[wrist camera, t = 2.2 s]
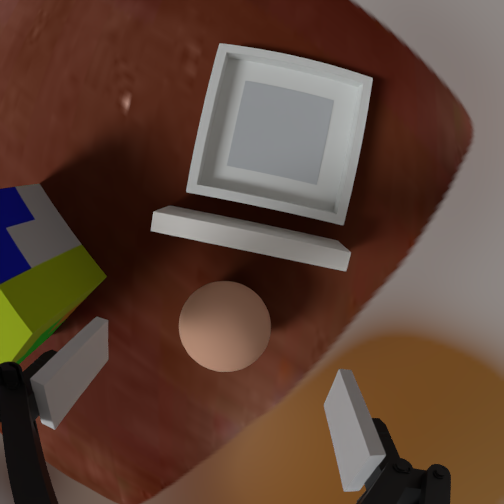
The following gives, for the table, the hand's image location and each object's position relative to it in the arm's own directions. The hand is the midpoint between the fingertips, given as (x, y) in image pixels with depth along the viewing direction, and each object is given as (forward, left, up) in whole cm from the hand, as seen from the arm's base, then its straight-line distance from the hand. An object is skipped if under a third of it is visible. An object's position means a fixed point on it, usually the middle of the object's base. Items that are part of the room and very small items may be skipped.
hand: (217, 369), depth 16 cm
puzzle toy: (0, -17, -8) cm, 19 cm away
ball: (0, 0, -7) cm, 7 cm away
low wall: (-6, 0, -7) cm, 10 cm away
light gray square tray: (-13, +1, -7) cm, 15 cm away
